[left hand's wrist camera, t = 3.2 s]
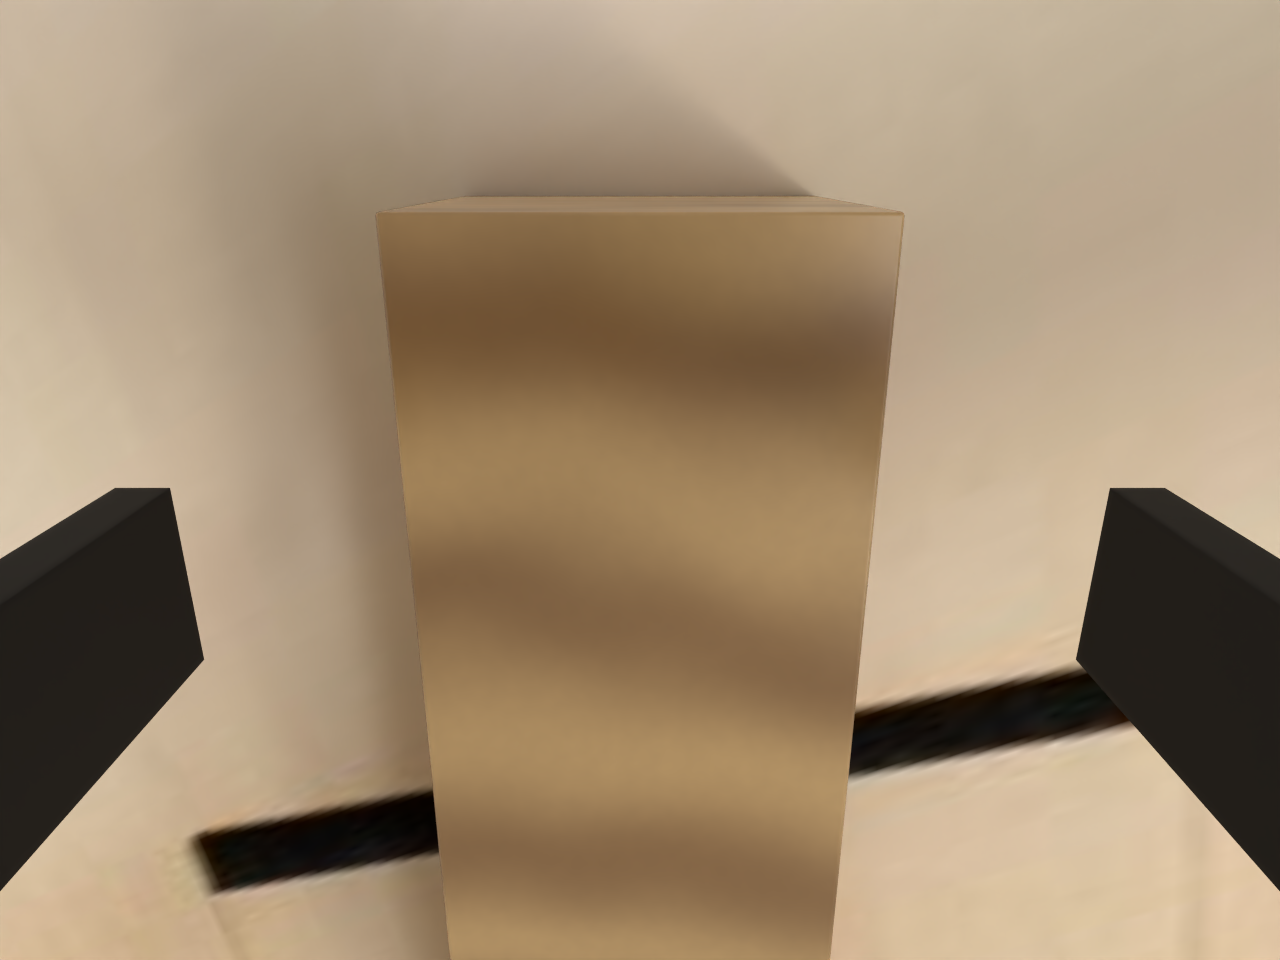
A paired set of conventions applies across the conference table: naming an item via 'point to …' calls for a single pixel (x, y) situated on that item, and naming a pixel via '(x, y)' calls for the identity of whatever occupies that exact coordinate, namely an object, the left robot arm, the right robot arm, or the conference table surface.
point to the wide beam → (639, 558)
